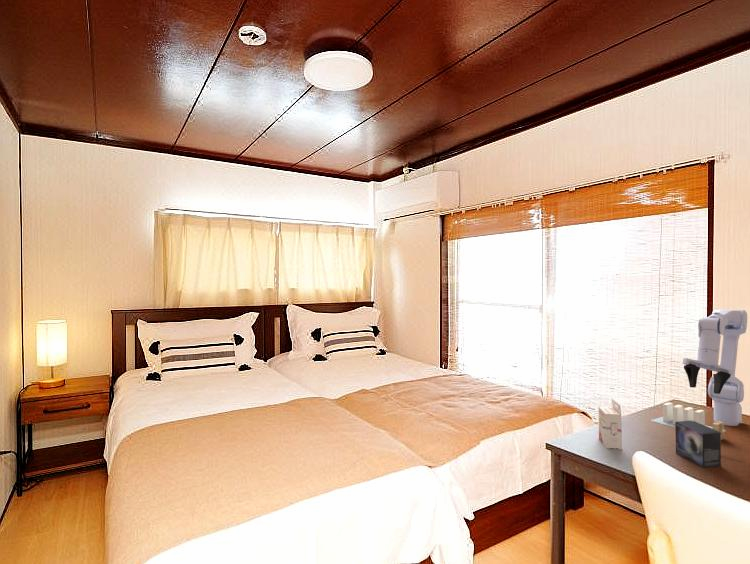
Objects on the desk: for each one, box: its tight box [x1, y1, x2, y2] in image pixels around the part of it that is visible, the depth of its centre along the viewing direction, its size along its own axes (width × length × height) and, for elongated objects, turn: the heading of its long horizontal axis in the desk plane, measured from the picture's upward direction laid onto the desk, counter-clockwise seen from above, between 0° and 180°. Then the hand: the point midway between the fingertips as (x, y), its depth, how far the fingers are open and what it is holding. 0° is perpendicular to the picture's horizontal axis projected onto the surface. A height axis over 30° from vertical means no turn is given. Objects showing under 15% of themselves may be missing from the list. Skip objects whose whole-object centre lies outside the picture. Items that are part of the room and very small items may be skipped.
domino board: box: [649, 415, 727, 433], centre depth 157 cm, size 12×20×1 cm, turn 30°
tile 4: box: [673, 404, 684, 424], centre depth 159 cm, size 4×2×6 cm, turn 120°
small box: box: [674, 421, 722, 468], centre depth 130 cm, size 11×6×10 cm, turn 5°
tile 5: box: [662, 402, 674, 422], centre depth 162 cm, size 4×2×6 cm, turn 120°
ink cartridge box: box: [598, 398, 623, 450], centre depth 143 cm, size 9×5×15 cm, turn 168°
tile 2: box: [694, 409, 706, 426], centre depth 153 cm, size 4×2×6 cm, turn 120°
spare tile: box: [712, 421, 725, 441], centre depth 143 cm, size 4×2×6 cm, turn 120°
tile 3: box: [683, 406, 695, 421], centre depth 156 cm, size 4×2×6 cm, turn 120°
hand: (704, 390), depth 143 cm, fingers open, 7 cm apart
